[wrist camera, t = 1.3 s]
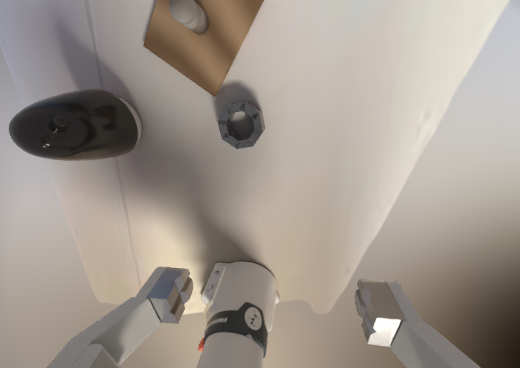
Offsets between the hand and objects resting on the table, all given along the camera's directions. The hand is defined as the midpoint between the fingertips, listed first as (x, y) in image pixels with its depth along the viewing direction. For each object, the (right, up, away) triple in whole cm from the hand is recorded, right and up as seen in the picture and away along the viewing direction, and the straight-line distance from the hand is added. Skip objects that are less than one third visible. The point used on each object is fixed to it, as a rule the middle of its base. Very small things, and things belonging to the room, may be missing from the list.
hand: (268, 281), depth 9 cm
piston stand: (-9, +27, +18) cm, 33 cm away
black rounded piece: (-25, +16, +25) cm, 39 cm away
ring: (-3, +15, +23) cm, 27 cm away
